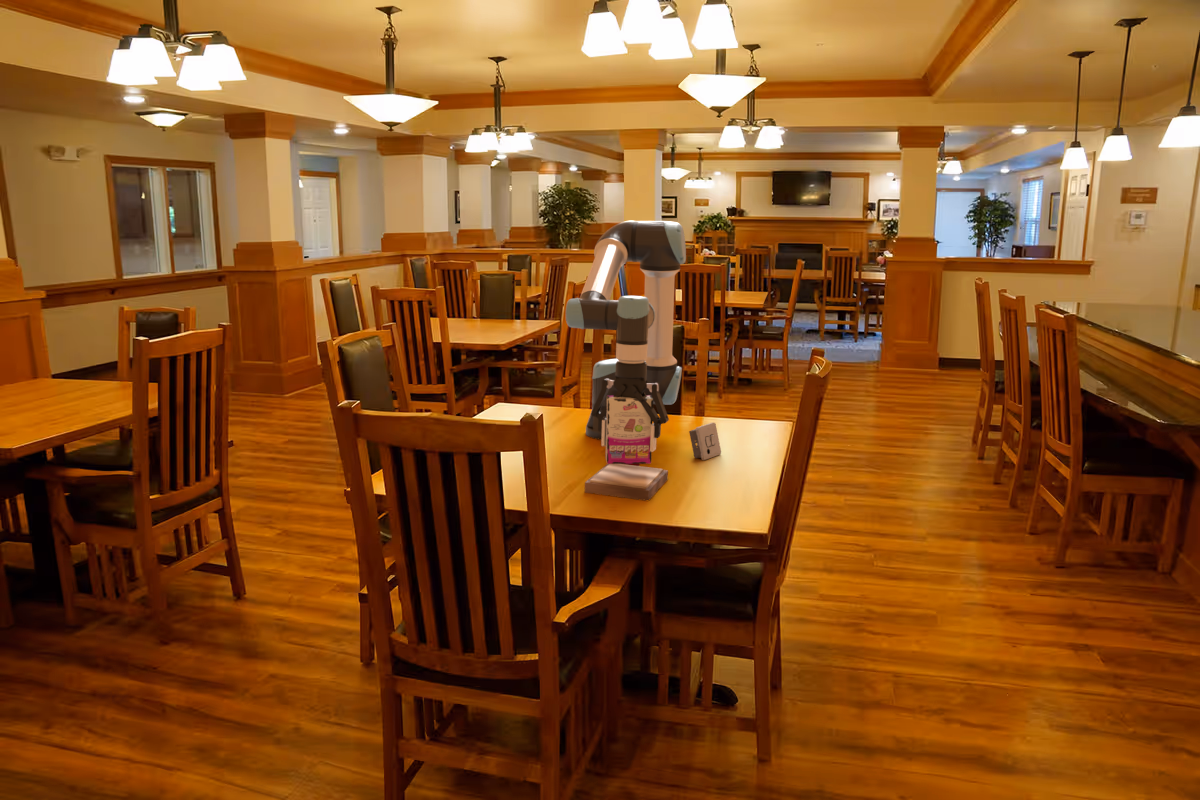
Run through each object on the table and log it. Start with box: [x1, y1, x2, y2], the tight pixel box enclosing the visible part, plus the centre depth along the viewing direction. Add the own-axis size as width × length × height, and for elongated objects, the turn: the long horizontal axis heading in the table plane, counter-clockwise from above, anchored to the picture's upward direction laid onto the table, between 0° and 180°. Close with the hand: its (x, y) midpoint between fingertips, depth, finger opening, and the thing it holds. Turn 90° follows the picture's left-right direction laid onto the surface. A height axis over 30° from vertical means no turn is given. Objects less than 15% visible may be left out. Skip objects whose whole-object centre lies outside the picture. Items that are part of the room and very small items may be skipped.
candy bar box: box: [605, 395, 654, 465], centre depth 209 cm, size 11×5×16 cm, turn 95°
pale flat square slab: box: [584, 463, 669, 501], centre depth 211 cm, size 18×16×3 cm
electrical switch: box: [688, 422, 722, 461], centre depth 240 cm, size 9×5×9 cm, turn 141°
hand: (628, 447), depth 210 cm, fingers closed on candy bar box, 12 cm apart
